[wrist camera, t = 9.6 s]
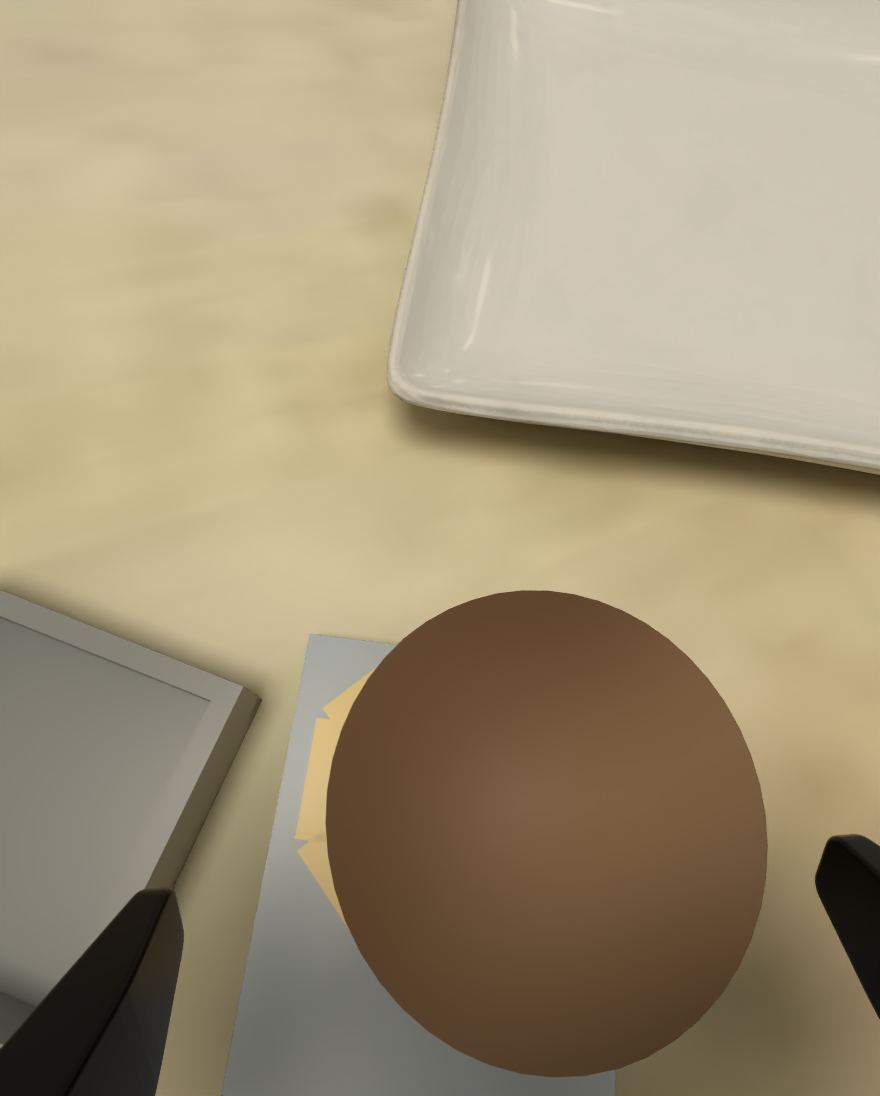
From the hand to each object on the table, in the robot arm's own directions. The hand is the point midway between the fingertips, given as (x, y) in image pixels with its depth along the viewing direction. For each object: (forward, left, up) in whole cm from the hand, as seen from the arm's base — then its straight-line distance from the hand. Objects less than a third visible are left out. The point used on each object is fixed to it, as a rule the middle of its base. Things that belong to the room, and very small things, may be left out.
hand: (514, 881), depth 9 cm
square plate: (-4, -27, -10) cm, 29 cm away
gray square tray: (+11, +3, -10) cm, 15 cm away
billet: (0, -1, -8) cm, 8 cm away
